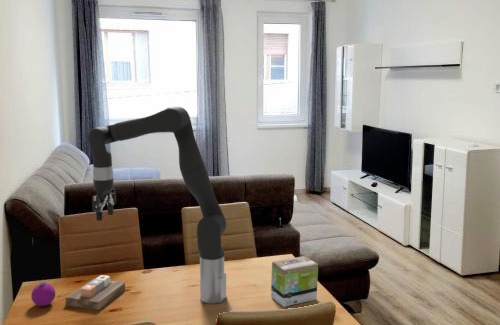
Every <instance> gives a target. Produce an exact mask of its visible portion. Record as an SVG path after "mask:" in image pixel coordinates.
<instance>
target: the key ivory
mask: <svg viewBox="0 0 500 325" xmlns="http://www.w3.org/2000/svg"><path fill="white" fill-rule="evenodd" d="M95 280H102V281H104V288H105V287H107V286H108V285H110V280H111V275H110V276H109V275H105V274H104V275H103V274H101V275H99V276H97V277H96V279H95Z"/></svg>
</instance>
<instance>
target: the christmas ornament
mask: <svg viewBox="0 0 500 325" xmlns="http://www.w3.org/2000/svg"><path fill="white" fill-rule="evenodd" d="M30 297H31V300H32V303H34V304H35V305H36V306H38V307H46V306H48V305H50V304H51V303H52V302H53V301H54V299H55V298H56V290H55V287H54V286H53V285H51V284H50V283H47V282H46V281H45V280H43V279H42V280H41V281H40V282H39V284H38V285H35V287H34V288H33V289H32V292H31V296H30Z"/></svg>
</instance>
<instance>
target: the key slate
mask: <svg viewBox="0 0 500 325" xmlns="http://www.w3.org/2000/svg"><path fill="white" fill-rule="evenodd" d="M93 279H94V278H93ZM90 281H91V280H90ZM87 283H88V282H87ZM88 284H90V285H97V293H98V292H100V291H101V290H103V289H104V281H102V280H95V279H94V280H93V281H91V282H90V283H88Z"/></svg>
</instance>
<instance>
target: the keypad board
mask: <svg viewBox="0 0 500 325" xmlns="http://www.w3.org/2000/svg"><path fill="white" fill-rule="evenodd" d="M96 278H97V277H96ZM96 278H95V277H94V278H92V279H91V280H89V281H88V282H86V283H85V284H84V285H82V286H80V287H78V289H76V290H74V291H73V292H72V293H69V294H68V295H67V296H65V306H69V307H74V308H80V309H87V310H93V311H100V310H101V309H103V308H104V307H105V306H107V305H109V303H111V302H112V301H113V300H115V299H116V298H117V297H118V296H119V295H121V294H122V293H123V292H125V291H126V282H125V281H124V282H123V281H117V280H112V279H110V285H108V286H107V287H105V288H104V289H103V290H101V291H100V292H98V293H97V294H96V295H94V296H93V297H91V298H87V297H81V288H82V287H84V286H85V285H87V284H88V283H90V282H91V281H93V280H94V279H96Z"/></svg>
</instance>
